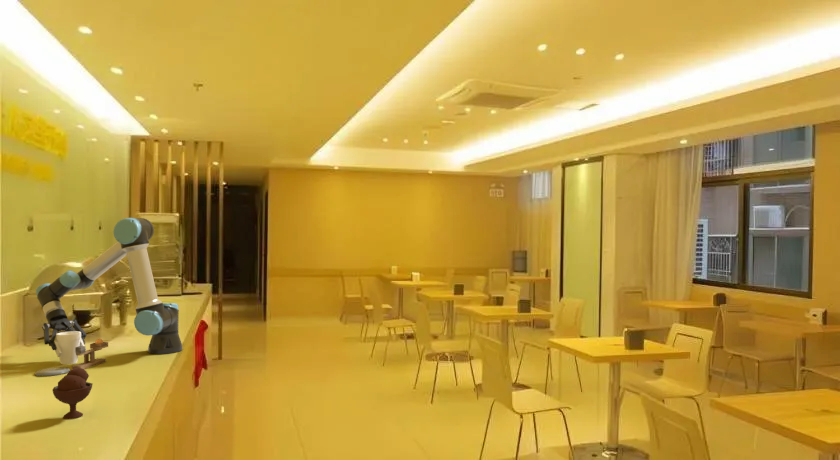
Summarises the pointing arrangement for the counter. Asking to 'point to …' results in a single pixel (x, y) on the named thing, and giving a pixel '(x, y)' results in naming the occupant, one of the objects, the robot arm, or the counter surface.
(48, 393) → the counter surface
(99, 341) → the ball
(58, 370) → the coaster
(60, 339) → the foam cup
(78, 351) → the catapult
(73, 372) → the ice cream bowl
